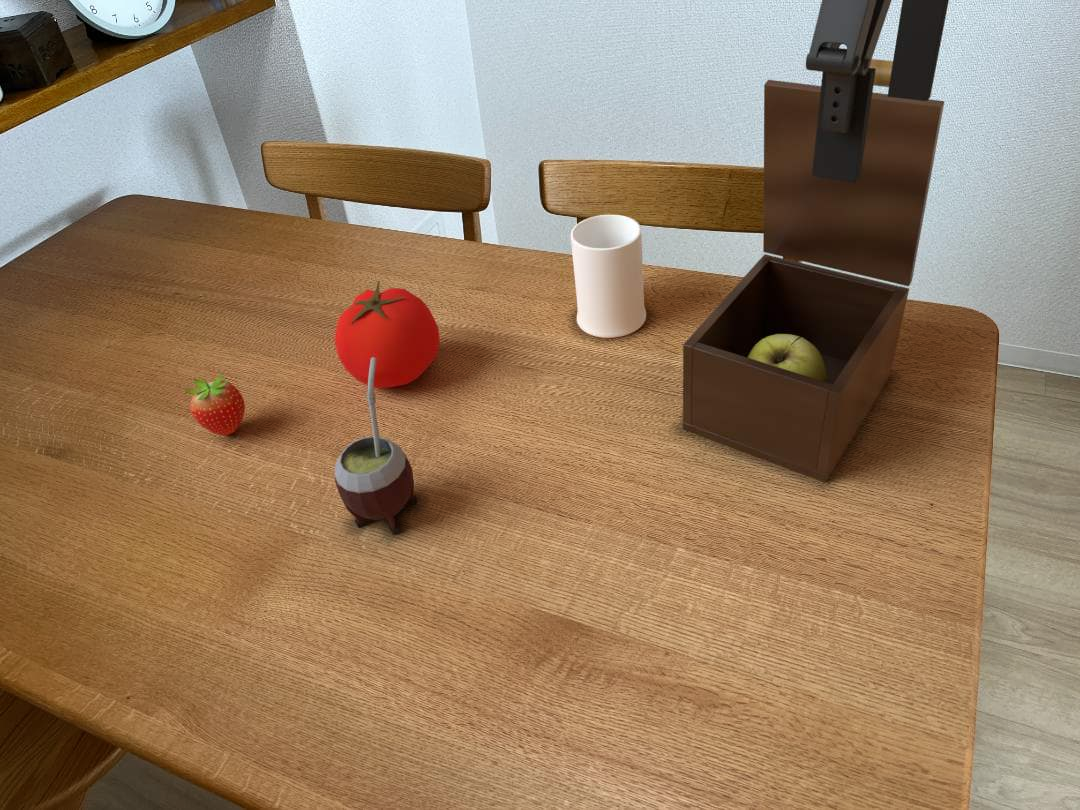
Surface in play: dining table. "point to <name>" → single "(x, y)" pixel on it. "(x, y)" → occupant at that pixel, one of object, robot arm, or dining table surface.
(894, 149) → the lid
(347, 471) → the mate gourd
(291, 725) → the dining table surface
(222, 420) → the fruit
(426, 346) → the tomato
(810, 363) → the apple
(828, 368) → the chest
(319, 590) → the dining table surface
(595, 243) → the mug
